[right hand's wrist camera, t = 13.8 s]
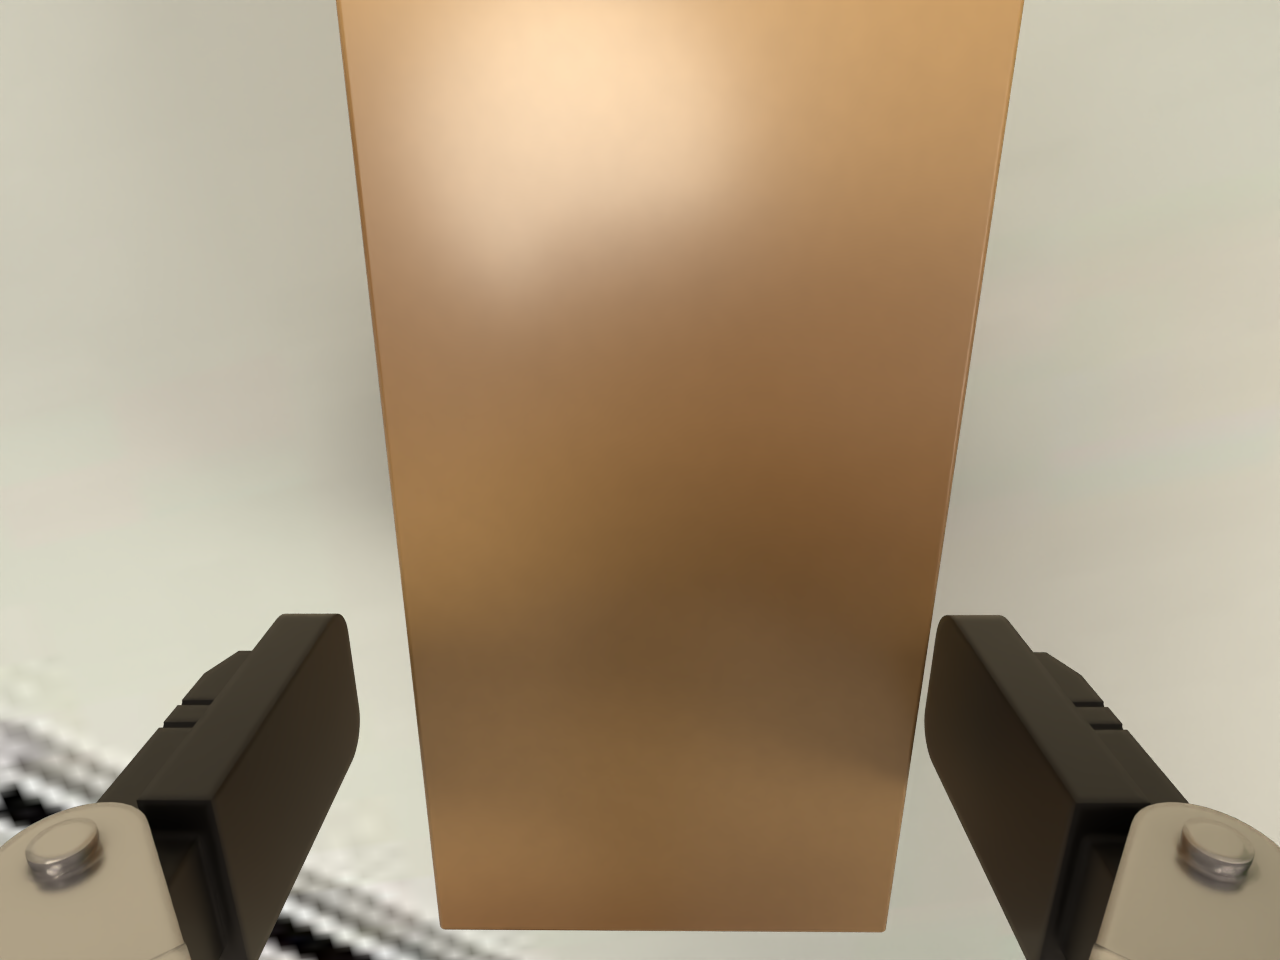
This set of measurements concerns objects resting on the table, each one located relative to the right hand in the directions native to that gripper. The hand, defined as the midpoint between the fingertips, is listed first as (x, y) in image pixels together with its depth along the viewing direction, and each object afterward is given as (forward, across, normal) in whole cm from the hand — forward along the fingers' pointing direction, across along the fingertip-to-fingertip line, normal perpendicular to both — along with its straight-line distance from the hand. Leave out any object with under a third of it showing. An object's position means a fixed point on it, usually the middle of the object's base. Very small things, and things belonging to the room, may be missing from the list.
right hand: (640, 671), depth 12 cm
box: (+10, 0, -10) cm, 15 cm away
